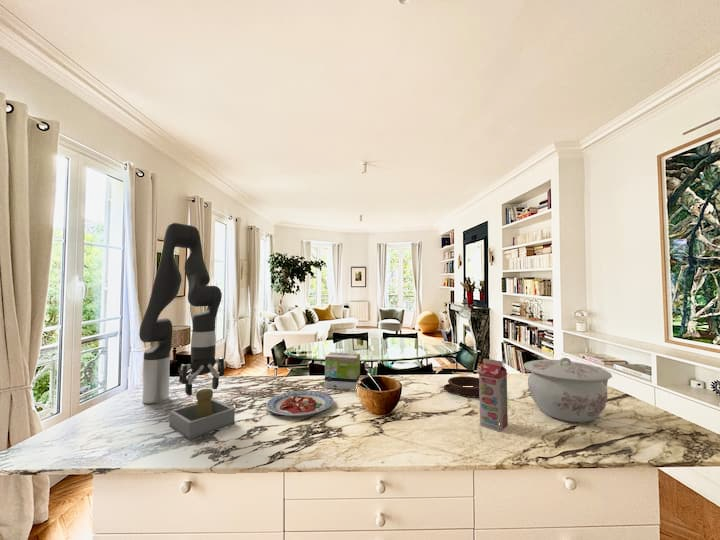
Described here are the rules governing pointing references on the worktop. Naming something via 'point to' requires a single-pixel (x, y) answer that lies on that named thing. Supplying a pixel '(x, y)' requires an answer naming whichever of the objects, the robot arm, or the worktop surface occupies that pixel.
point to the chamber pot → (568, 389)
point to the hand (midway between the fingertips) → (202, 391)
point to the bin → (201, 419)
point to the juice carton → (493, 395)
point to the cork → (204, 403)
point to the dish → (459, 382)
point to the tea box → (342, 370)
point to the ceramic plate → (299, 403)
